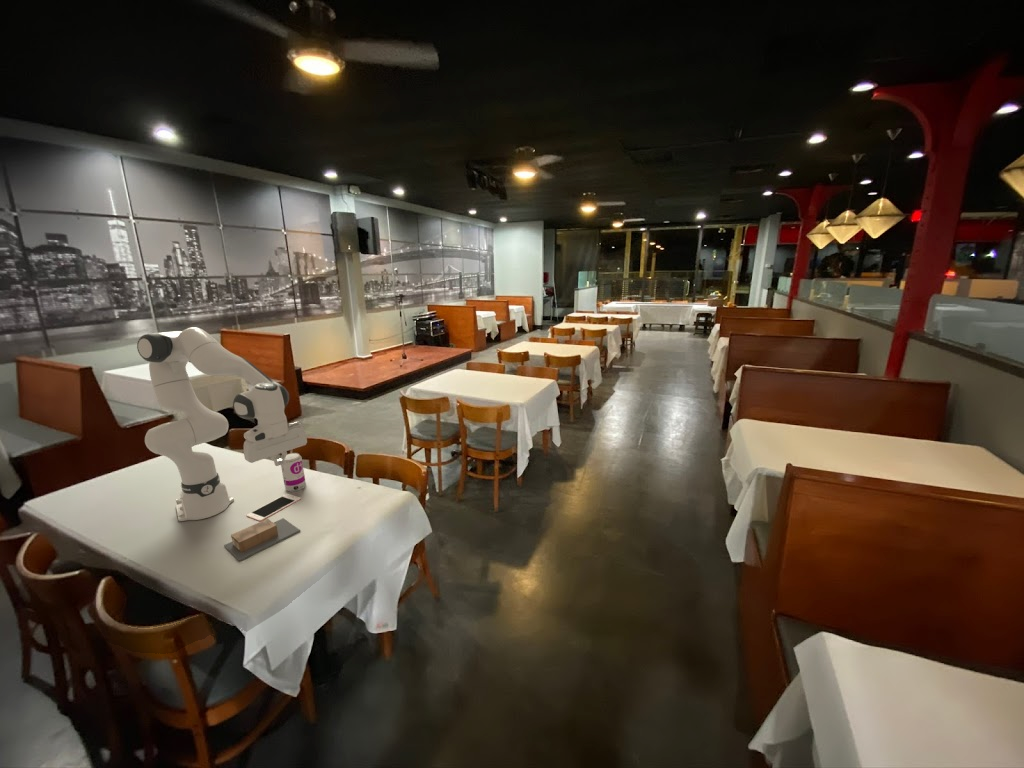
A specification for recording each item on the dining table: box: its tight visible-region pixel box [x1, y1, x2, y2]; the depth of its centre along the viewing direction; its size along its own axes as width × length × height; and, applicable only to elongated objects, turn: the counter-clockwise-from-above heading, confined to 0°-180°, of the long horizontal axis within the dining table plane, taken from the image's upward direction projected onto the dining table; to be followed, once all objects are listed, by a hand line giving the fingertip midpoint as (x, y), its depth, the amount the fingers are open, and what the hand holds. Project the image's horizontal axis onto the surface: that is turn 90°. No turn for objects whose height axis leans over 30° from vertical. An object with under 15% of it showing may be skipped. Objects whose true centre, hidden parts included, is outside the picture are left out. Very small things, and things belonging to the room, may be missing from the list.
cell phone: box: [245, 493, 301, 522], centre depth 167 cm, size 9×18×1 cm, turn 155°
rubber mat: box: [223, 517, 301, 562], centre depth 147 cm, size 13×20×1 cm, turn 143°
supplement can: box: [280, 452, 307, 492], centre depth 180 cm, size 8×8×15 cm
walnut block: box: [230, 518, 278, 553], centre depth 145 cm, size 7×4×12 cm
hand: (280, 464), depth 148 cm, fingers closed
